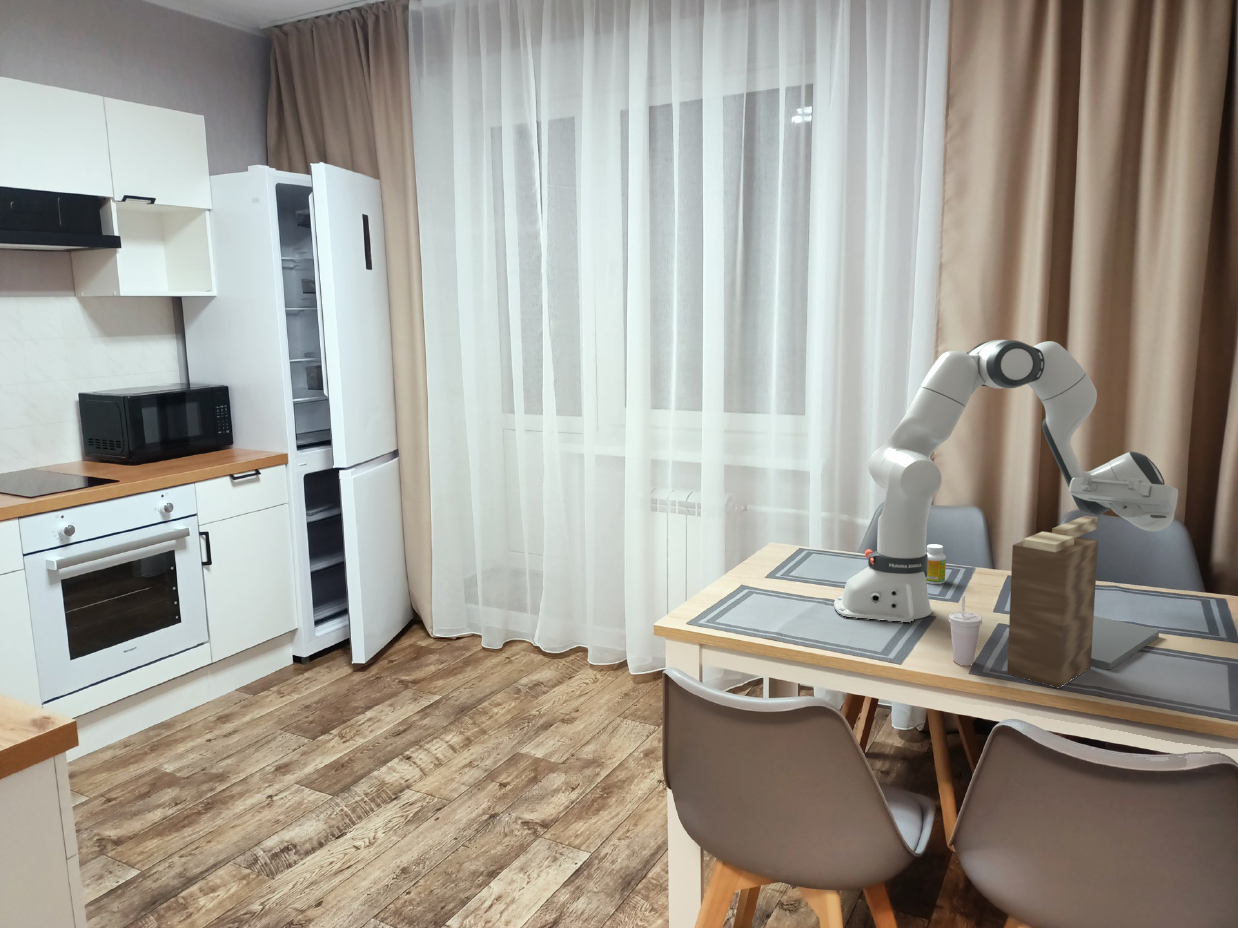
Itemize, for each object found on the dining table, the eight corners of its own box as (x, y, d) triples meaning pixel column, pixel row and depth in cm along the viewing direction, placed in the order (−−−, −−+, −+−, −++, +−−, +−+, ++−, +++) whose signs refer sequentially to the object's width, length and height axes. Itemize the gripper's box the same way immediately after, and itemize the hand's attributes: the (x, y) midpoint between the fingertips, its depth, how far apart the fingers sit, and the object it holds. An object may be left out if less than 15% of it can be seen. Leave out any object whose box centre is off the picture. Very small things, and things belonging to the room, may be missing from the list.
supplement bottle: (942, 585, 231) (943, 549, 230) (921, 583, 234) (922, 547, 233) (947, 580, 236) (948, 544, 234) (926, 577, 239) (927, 542, 237)
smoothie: (941, 657, 184) (943, 591, 182) (971, 655, 185) (973, 590, 182) (955, 669, 178) (958, 601, 176) (986, 667, 178) (989, 599, 176)
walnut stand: (1039, 654, 184) (1045, 531, 180) (1090, 668, 176) (1098, 540, 172) (1007, 673, 175) (1012, 544, 171) (1059, 688, 167) (1066, 554, 163)
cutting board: (1081, 619, 204) (1081, 612, 203) (1158, 636, 192) (1159, 630, 191) (1028, 649, 187) (1028, 642, 187) (1109, 670, 175) (1110, 662, 175)
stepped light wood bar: (1075, 525, 184) (1075, 514, 183) (1106, 530, 179) (1106, 518, 179) (1023, 546, 169) (1023, 534, 169) (1055, 552, 165) (1056, 539, 164)
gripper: (1086, 481, 204) (1060, 464, 195) (1186, 490, 188) (1163, 472, 179) (1080, 508, 203) (1054, 492, 194) (1181, 519, 187) (1158, 502, 179)
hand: (1108, 482), depth 187 cm, fingers open, 8 cm apart
